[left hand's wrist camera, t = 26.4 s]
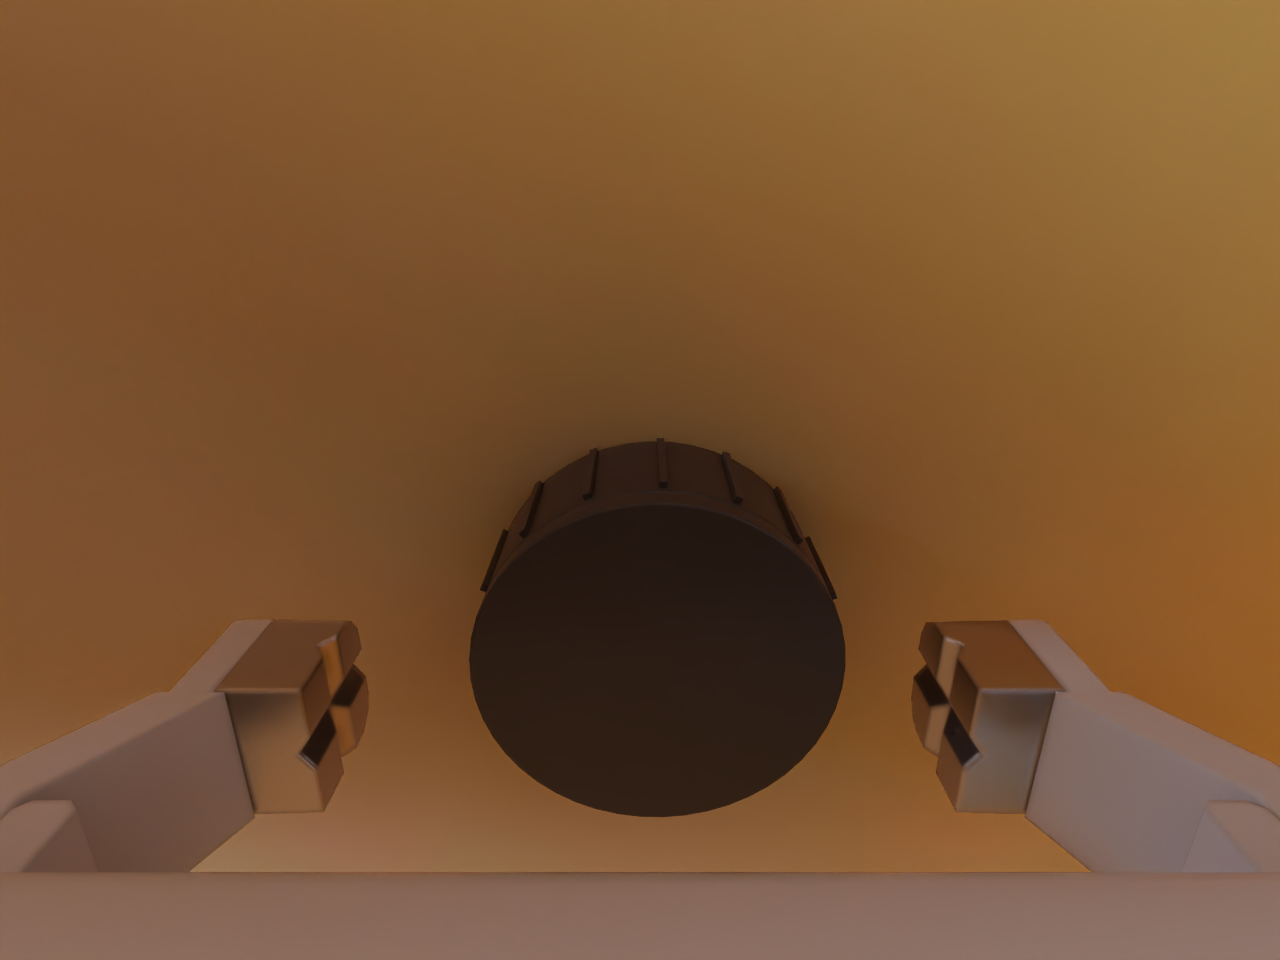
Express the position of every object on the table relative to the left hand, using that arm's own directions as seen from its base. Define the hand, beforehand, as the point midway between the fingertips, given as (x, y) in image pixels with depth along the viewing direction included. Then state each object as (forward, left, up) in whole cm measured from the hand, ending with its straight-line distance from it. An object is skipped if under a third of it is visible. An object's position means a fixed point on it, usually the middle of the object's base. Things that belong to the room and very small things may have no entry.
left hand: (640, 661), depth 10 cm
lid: (0, 0, 0) cm, 0 cm away
